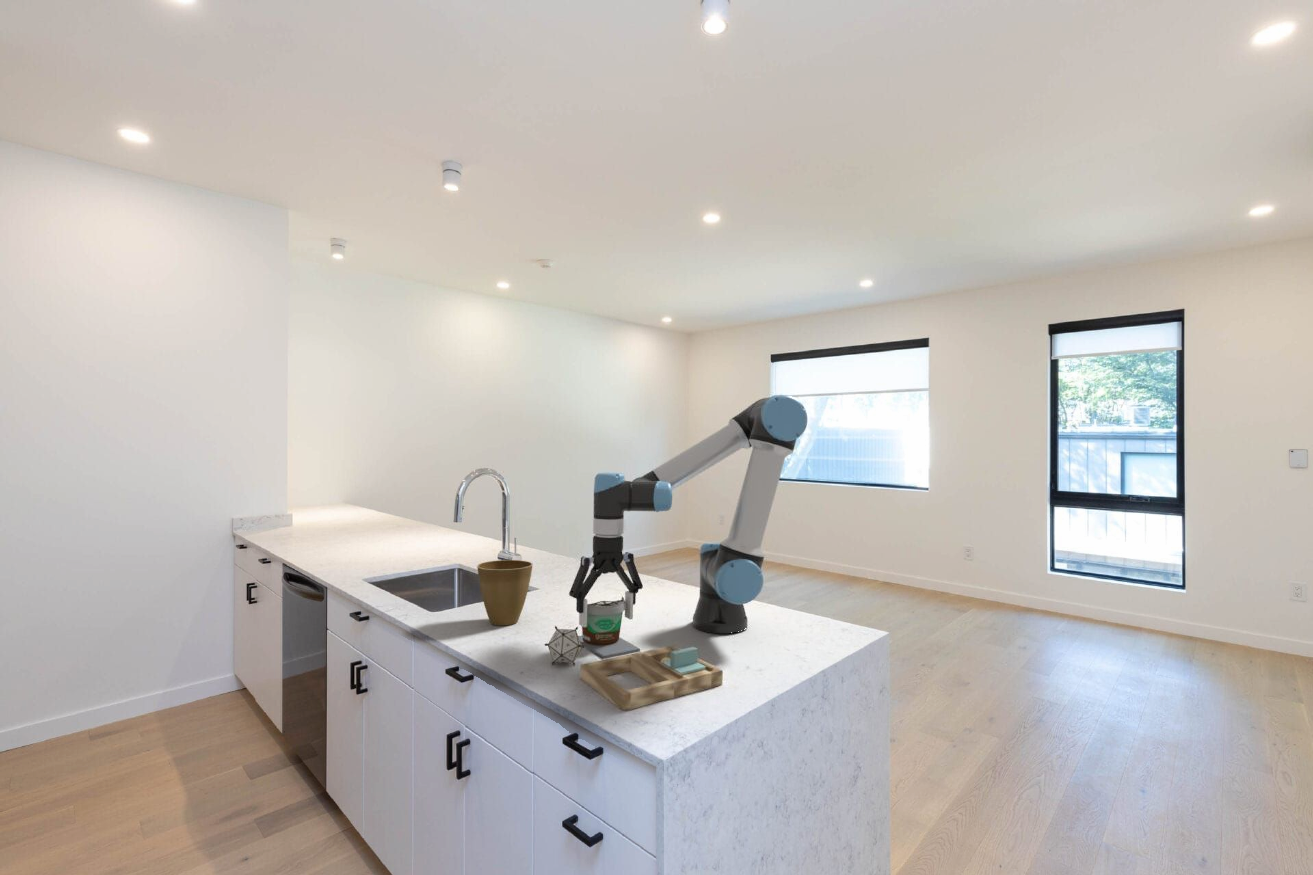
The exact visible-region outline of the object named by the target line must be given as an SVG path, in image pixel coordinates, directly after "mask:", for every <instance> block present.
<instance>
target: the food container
mask: <svg viewBox="0 0 1313 875" xmlns="http://www.w3.org/2000/svg"><path fill="white" fill-rule="evenodd" d="M625 609H626V605H625V597H623V596H621V599H620V600H619V599H618V600H601V601H597V602H593V603H587V627H583V626H581V630H582V631H581V633H582V634H581V635H583V641H584V642H586V643H588V644H592V645H600V646H602V645H611V644H614V643H616V642H617V641H618V640H619V637H620V632H621V627H622V619H623V613H624V612H625Z"/></svg>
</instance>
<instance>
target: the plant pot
mask: <svg viewBox="0 0 1313 875" xmlns="http://www.w3.org/2000/svg"><path fill="white" fill-rule="evenodd" d="M476 567H477V574H478V581H479V586H480V593H481V597H482V601H483V605H484V608H485V609H484V610H485V611H486V614H487V618H488V620H489V622H490V624H491V625H493V626H499V627H502V626H511V625H514V624H517V623H518V622H519V620H520V617H521V614H522V612H523V608H524V606H525V602H526V598H527V596H528V592H529V587H530V583H531V578H532V571H533V563H532V562H531V561H527V560H520V559H502V560H501V559H499V560H491V561H483V562H481V563H480V562H479V564H477V566H476Z"/></svg>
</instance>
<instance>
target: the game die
mask: <svg viewBox="0 0 1313 875" xmlns="http://www.w3.org/2000/svg"><path fill="white" fill-rule="evenodd" d="M554 628H555V631H554V633H553V635H552V637H551V638H550V639H549V641H548V643H544V644H543V645H544V646H547V647H548V650H549V653H550V655H551V659H552V662H551V666H553V665H555V663H572V666H574V667H575V666H576V663H575V661H576V659H577V657H578V655H579V653H580V651H581V649H584V648H586V647H585V646H584V645H582V644H581V643H580V640H579V637H578V636H579V635H578V632H577V630H578V629H579V626H575V628H574V629H572V628H571V629H569V628H568V629H566V628H565V629H564V628H563V629H562V628H558V626H556V625H554Z"/></svg>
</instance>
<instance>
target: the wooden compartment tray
mask: <svg viewBox="0 0 1313 875" xmlns="http://www.w3.org/2000/svg"><path fill="white" fill-rule="evenodd" d="M681 649H682V648H679V647H677V646H675V645H670V646H664V647H659V648H655V649H654V648H653V649H650V650H645V651H638V652H633V653H629V654H624V655H619V656H614V657H609V658H604V659H601V660H596V661H592V662H587V663H581V664H580V680H582V681H583V682H584V683H585V684H587V685H588V686H589V687H591V688H592V689H593V688H594V689H593V690H595V691H596V692H598V693H599V694H600V695H602V696H603V697H604V698H606V699H607V700H608V699H609V700H608V701H610V702H611V703H612V704H614V705H615V706H616V707H617V708H619V709H621V710H622V711H624V712H625V711H629V710H633V709H637V708H641V707H644V706H647V705H650V704H651V705H652V704H655V703H659V702H662V701H666V700H670V699H674V698H677V697H682V696H685V695H688V694H693V693H696V692H701V691H704V690H708V689H711V688H716V687H719V686H723V673H724V672H723V671H724V670H723V669H721V668H719V667H717V666H715V665H712V664H711V663H709V662H707V661H704V660H703V659H701V658H699V657H697V662H698V663H700V664H702V665H704V666H706V669H704V670H700V671H696V672H692V673H688V674H684V675H682V674H680V673H679V672H677V671H675V670H673V669H671V668H670V667H668V666H666V665H664V664H663V663H661V662H660V661H661V660H662V659H663V658H670V656H671V651H676V650H681ZM626 672H632V673H633V674H635V675H636V676H639V677H640V678H641V679H643V680H645V681H646V682H648V683H650V684H648V685H643V686H639V687H636V688H635V687H634V688H631V689H625V688H624V687H623V686H621V685H620V684H618V683H616V682H615V681H614V680H612V679H611V678H609V677H608V676H612V675H617V674H621V673H626Z"/></svg>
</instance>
